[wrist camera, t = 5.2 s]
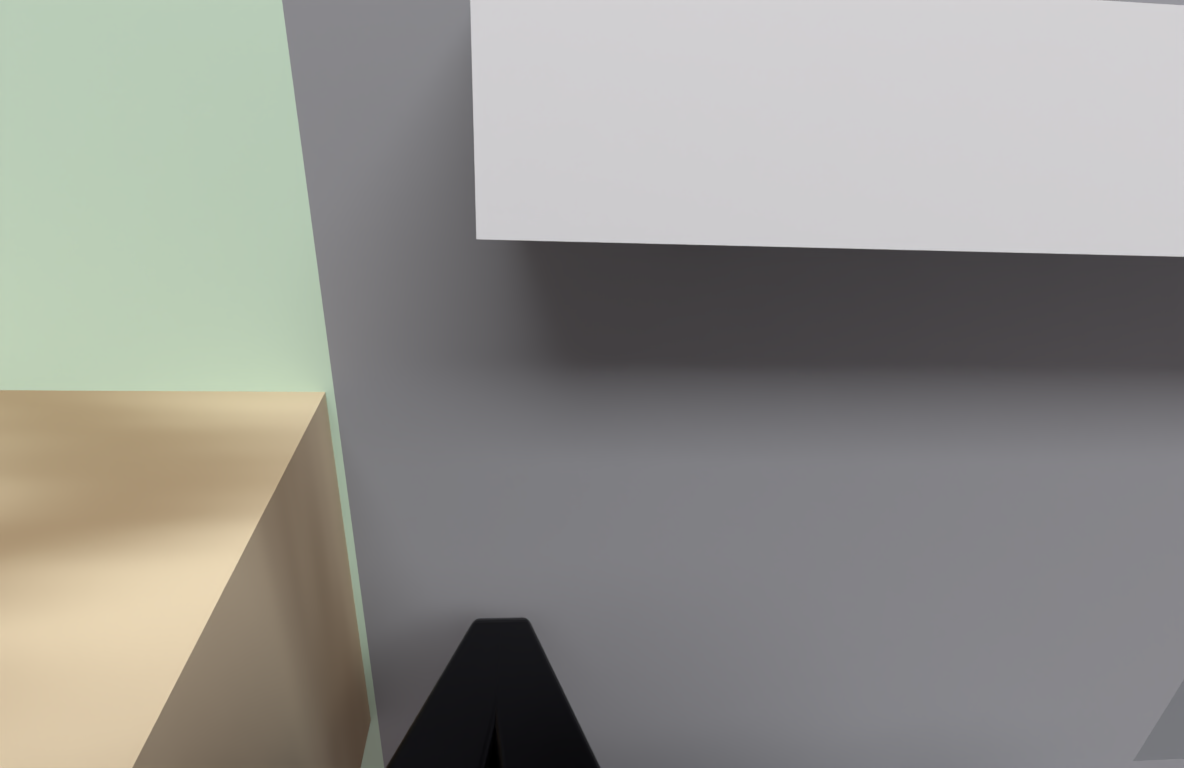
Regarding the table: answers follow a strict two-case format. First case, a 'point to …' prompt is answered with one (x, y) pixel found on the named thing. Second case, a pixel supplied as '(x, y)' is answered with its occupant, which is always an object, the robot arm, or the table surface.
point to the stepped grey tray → (667, 340)
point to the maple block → (175, 583)
